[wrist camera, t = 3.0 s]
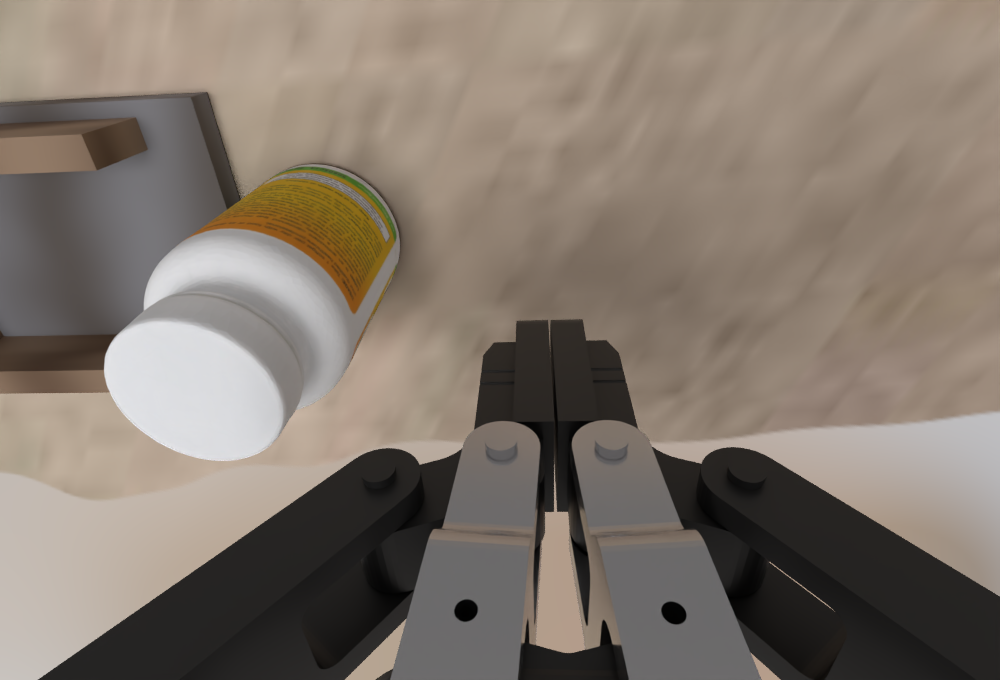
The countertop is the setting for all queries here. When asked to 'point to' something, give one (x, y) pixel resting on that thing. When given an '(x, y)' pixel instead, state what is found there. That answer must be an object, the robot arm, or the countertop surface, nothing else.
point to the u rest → (95, 223)
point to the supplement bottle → (255, 314)
